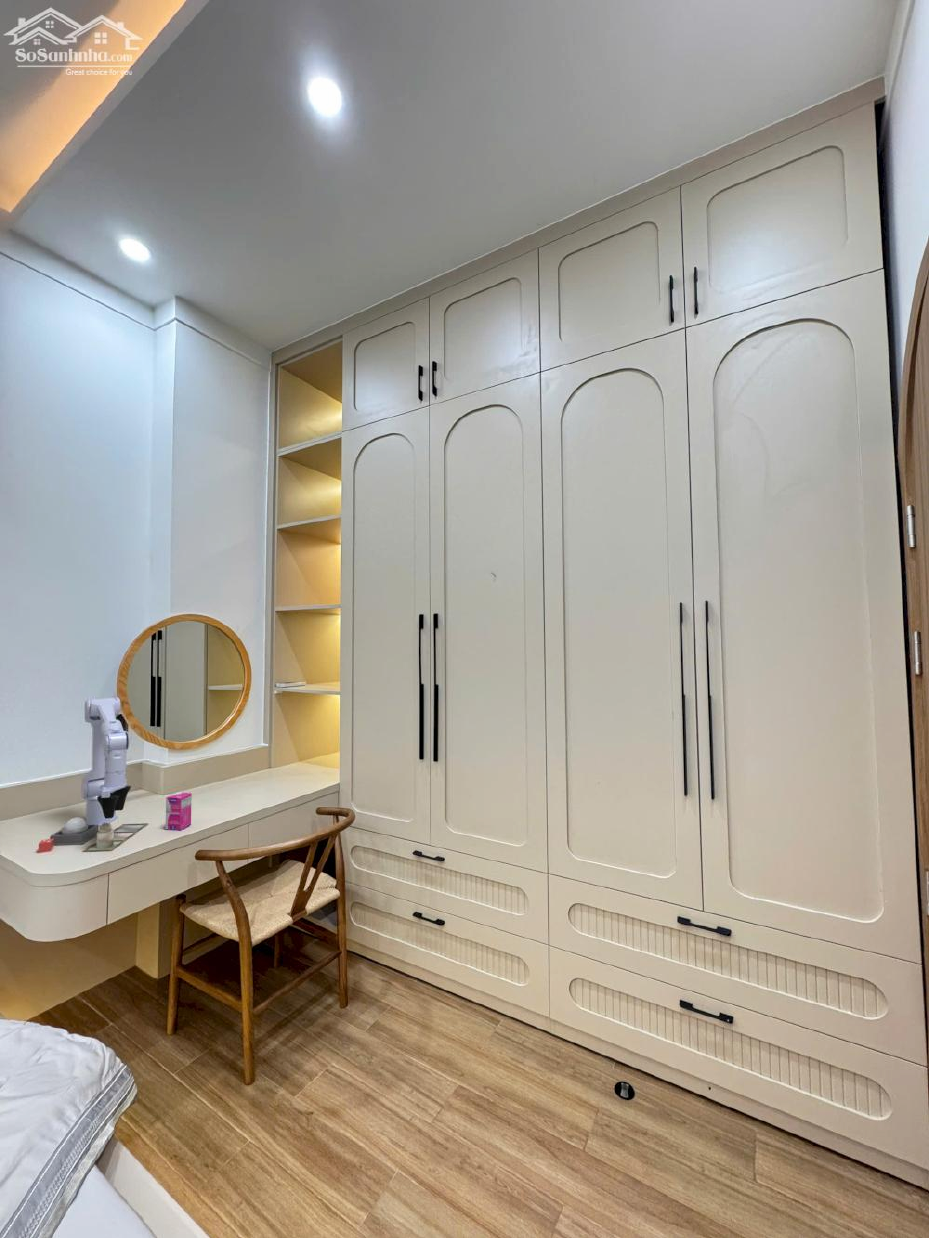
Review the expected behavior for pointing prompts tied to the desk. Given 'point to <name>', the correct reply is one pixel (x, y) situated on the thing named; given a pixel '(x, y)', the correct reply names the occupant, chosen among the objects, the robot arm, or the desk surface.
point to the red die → (46, 845)
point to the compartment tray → (119, 836)
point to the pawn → (105, 836)
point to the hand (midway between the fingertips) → (114, 813)
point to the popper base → (75, 837)
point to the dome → (75, 826)
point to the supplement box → (178, 811)
